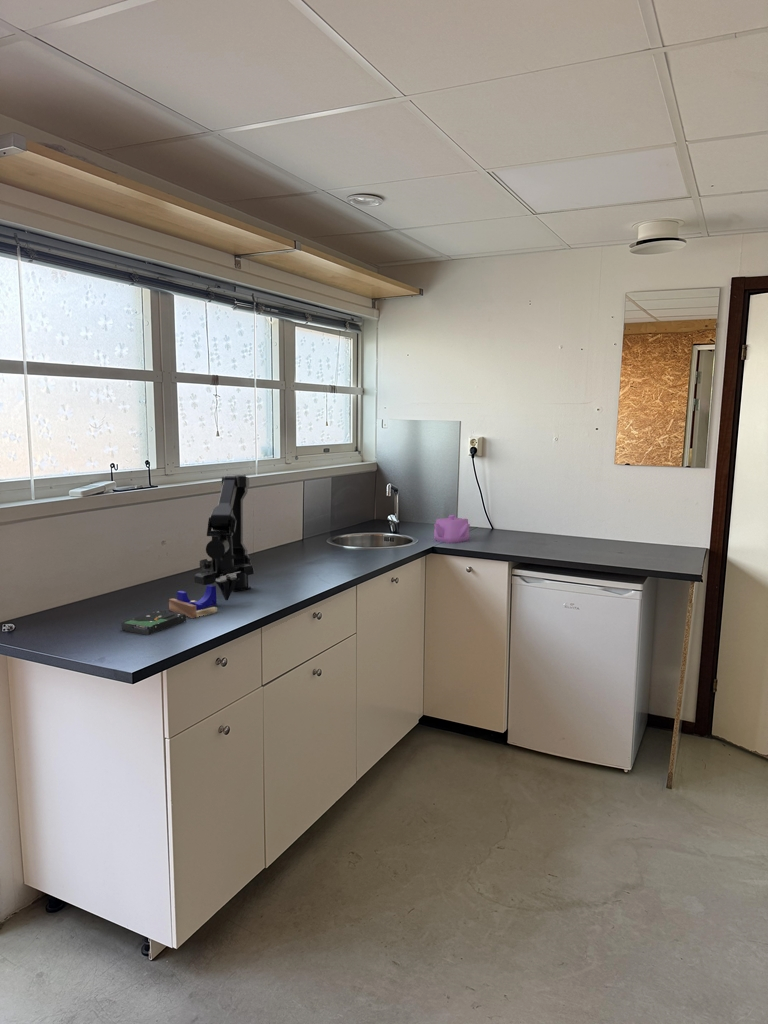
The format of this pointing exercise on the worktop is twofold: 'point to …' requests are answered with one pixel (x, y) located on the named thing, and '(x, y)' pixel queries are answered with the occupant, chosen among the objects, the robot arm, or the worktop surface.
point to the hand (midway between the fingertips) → (226, 600)
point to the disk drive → (153, 622)
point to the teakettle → (451, 529)
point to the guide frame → (189, 608)
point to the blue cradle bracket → (205, 601)
